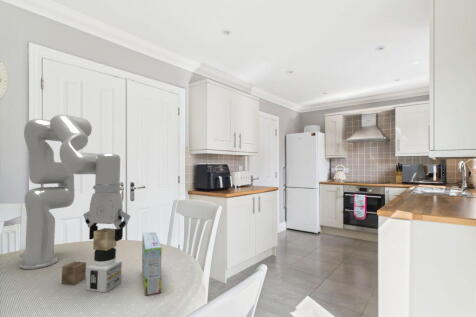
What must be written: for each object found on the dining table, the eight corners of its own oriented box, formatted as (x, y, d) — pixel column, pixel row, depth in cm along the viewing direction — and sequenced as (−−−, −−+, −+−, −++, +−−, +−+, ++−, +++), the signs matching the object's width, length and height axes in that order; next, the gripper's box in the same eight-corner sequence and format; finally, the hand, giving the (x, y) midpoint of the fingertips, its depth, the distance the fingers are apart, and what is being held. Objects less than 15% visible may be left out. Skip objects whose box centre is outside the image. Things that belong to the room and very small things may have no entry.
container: (106, 293, 82) (107, 252, 82) (85, 290, 83) (86, 250, 84) (121, 282, 89) (122, 245, 90) (102, 280, 91) (103, 243, 91)
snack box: (140, 271, 99) (141, 232, 100) (155, 269, 102) (156, 231, 102) (143, 296, 80) (145, 248, 81) (162, 293, 82) (163, 246, 83)
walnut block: (61, 284, 88) (62, 266, 88) (73, 277, 93) (74, 261, 93) (74, 285, 87) (74, 267, 87) (85, 279, 92) (85, 262, 92)
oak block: (93, 249, 85) (93, 231, 85) (103, 245, 90) (104, 228, 90) (106, 250, 84) (107, 232, 84) (116, 246, 89) (116, 228, 89)
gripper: (77, 189, 86) (75, 240, 85) (123, 191, 82) (121, 244, 82) (93, 187, 93) (91, 235, 92) (136, 189, 90) (135, 238, 89)
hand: (105, 239), depth 87 cm, fingers open, 9 cm apart
